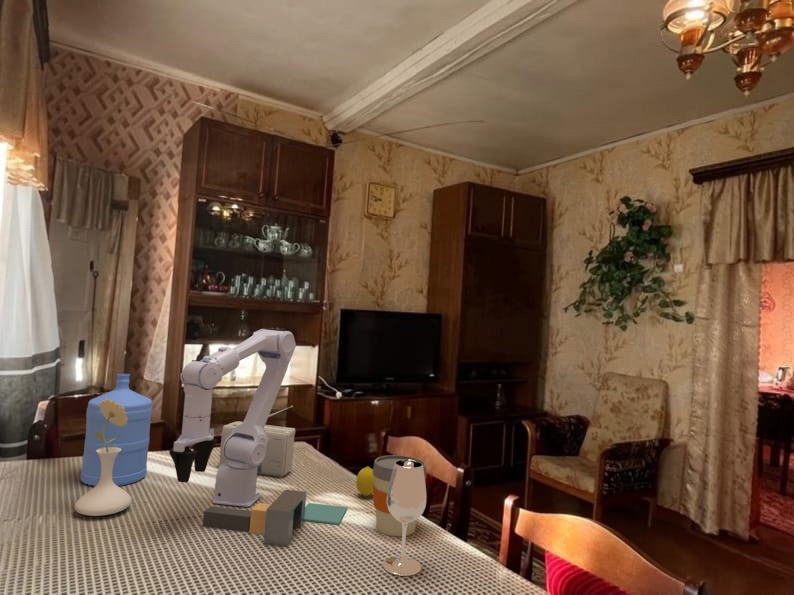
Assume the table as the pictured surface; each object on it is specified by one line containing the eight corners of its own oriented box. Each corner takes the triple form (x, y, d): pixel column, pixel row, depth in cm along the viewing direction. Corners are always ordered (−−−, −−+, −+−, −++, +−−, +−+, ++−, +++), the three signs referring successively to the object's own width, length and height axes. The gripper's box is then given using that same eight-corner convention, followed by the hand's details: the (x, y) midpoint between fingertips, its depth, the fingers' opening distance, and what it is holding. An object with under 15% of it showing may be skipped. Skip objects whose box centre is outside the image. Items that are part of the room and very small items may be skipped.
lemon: (373, 501, 133) (375, 470, 133) (352, 498, 134) (354, 468, 134) (377, 494, 138) (380, 465, 139) (358, 491, 139) (360, 462, 140)
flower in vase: (139, 512, 116) (148, 402, 117) (82, 525, 107) (93, 406, 108) (118, 496, 125) (128, 394, 126) (65, 506, 116) (75, 397, 117)
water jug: (158, 478, 139) (167, 376, 140) (99, 492, 126) (109, 379, 127) (126, 465, 148) (135, 369, 149) (68, 478, 134) (78, 372, 136)
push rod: (202, 527, 111) (203, 511, 111) (209, 521, 114) (210, 506, 114) (248, 533, 110) (249, 517, 110) (254, 527, 113) (255, 511, 113)
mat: (296, 520, 117) (296, 518, 118) (308, 504, 127) (308, 502, 127) (338, 525, 116) (339, 522, 117) (347, 509, 126) (347, 507, 126)
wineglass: (381, 556, 103) (387, 457, 103) (419, 557, 103) (425, 458, 104) (383, 576, 95) (390, 468, 96) (424, 577, 95) (431, 470, 96)
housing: (263, 543, 105) (266, 509, 105) (283, 520, 117) (285, 489, 117) (287, 546, 104) (289, 512, 104) (304, 522, 117) (306, 491, 117)
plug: (249, 533, 109) (251, 509, 110) (256, 525, 113) (257, 503, 114) (270, 535, 109) (272, 512, 109) (276, 528, 113) (278, 505, 113)
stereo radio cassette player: (217, 470, 150) (223, 402, 151) (232, 462, 158) (237, 398, 159) (282, 479, 145) (288, 409, 146) (294, 471, 153) (299, 405, 154)
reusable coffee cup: (386, 512, 126) (391, 452, 126) (432, 526, 119) (436, 462, 120) (358, 529, 115) (362, 462, 116) (406, 545, 109) (410, 474, 109)
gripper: (198, 423, 106) (192, 488, 106) (227, 411, 121) (223, 468, 120) (166, 420, 107) (160, 485, 106) (199, 408, 121) (194, 465, 121)
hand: (191, 476), depth 113 cm, fingers open, 7 cm apart
